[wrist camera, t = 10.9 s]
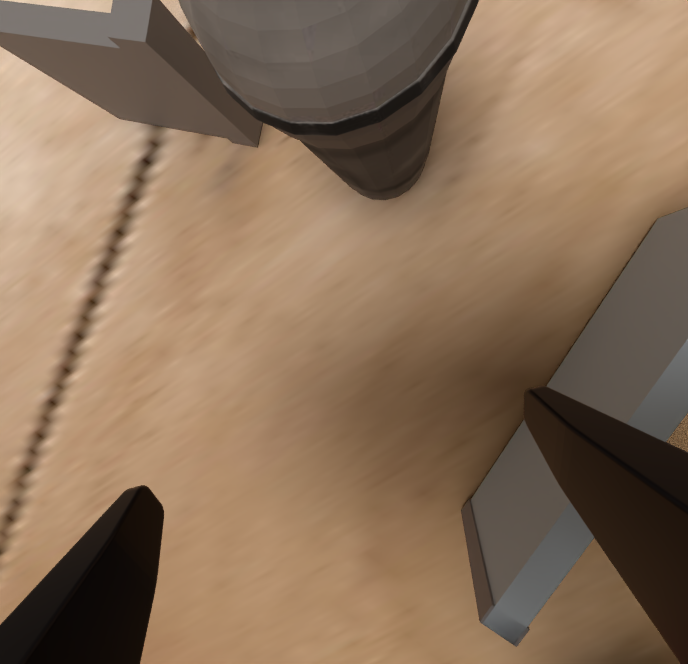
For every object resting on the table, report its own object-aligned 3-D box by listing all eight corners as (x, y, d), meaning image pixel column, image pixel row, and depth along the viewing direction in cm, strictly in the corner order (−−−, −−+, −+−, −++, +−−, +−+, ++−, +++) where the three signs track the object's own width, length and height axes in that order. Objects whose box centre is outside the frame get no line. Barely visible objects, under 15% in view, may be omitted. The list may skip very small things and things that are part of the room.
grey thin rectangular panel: (655, 217, 18) (814, 156, 11) (685, 231, 18) (867, 178, 10) (461, 510, 21) (479, 622, 13) (484, 525, 20) (516, 646, 13)
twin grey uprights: (748, 196, 17) (1081, 83, 8) (734, 236, 17) (1044, 165, 9) (123, 93, 24) (-56, -32, 15) (118, 123, 24) (-61, 17, 15)
